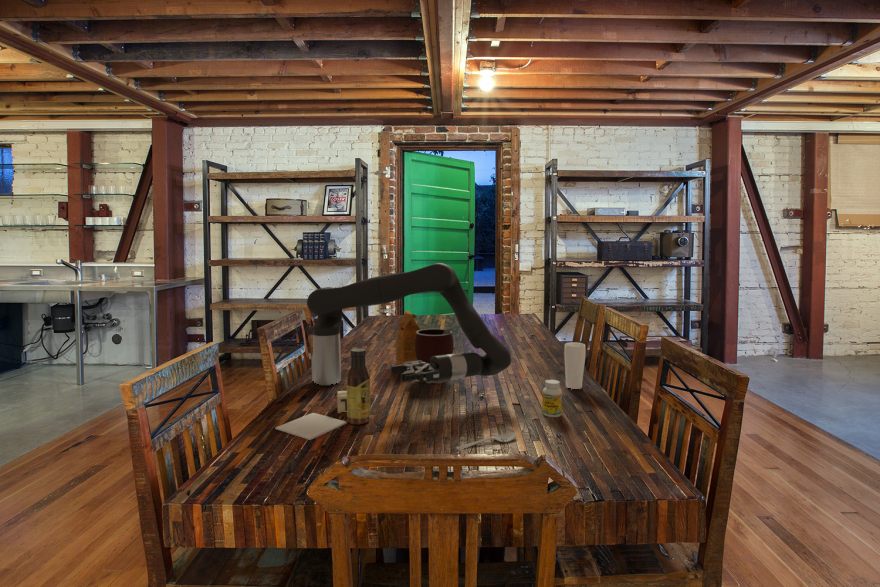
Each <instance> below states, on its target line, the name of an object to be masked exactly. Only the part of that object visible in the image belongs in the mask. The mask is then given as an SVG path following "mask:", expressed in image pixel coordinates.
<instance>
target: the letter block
mask: <svg viewBox="0 0 880 587" xmlns="http://www.w3.org/2000/svg"><path fill="white" fill-rule="evenodd" d="M336 398H337V399H336V400H337V414H342V413H341V412H347V390H339V391H337V397H336Z"/></svg>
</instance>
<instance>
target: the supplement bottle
mask: <svg viewBox="0 0 880 587" xmlns="http://www.w3.org/2000/svg"><path fill="white" fill-rule="evenodd" d="M544 381H545V382H544V386H545V387H544V388H542V400H541V401H542V402H541V403H542V406H541V407H542V410H541V414H543V415H544V416H545V417H549V418H559V417H561V416H562V412H563V411H562V407H563V398H562V397H563V392H562V391H563V390H562V389H561V388H560V386H561V384H560V381H559V380H556V379H546V380H544Z"/></svg>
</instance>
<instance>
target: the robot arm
mask: <svg viewBox="0 0 880 587" xmlns="http://www.w3.org/2000/svg"><path fill="white" fill-rule="evenodd" d="M432 292H435V293H439V294H440V295H441V297H443V298H444V299H445V302H447V303H448V304H449V307H450V308H451V309H452V311H453V313H454V316H455V318H456V320H457V323H458V324H459V326H460V328H461V330H462V331H463V333H464V335H465V336H466V338H467V339H468V341H469V343H470V344H471V345H472V347H473V348H475V349H481V350H482V351H483V352H484V353H485V354H479V353H476V352H466V353H465V352H464V353H453V354H447V355H438V356H433V357H431V359H430V361H429V363H426V362H422V361H421V360H419V361H410V362H403V365H397V364H396V365H391V366H390V373H391V374H392V375H397V374H400V381H401V382H402V383H405V382H412V381H414V382H419V383H420V384H421V383H423V382H428V381H435V382H440V381H447V380H450V381H452V380H459V379H462V378H469V377H476V376H479V377H480V376H482V377H483V376H484V377H489V376H494V375H498V374H500V373H502V372H503V371H504V370H506V369H507V368H509V366H510V365H511V363H512V357H511V353H510V351H509V350H508V348H507V346H505V345H504V344H503V343H502V342H501V341H500V340H499V339H498V338H497V337H496V336H495V335H494V334H492V333H491V330H489V328H488V326H487V325H486V323H485V321H484V320H483V319H482V318H481V316H480V314H479V313H478V311H477V310H476V309H475V308H474V306H473V305H472V303H471V301H470V300H469V298H468V296H467V294H466V292H465V291H464V289H463V287H462V284H461V282H460V280H459V277H458V275H457V273H456V271H455V270H454V268H453V267H451V266H450V265H448V264H446V263H442V262H437V263H433V264H430V265H427V266H423V267H420V268H417V269H414V270H410V271H405V272H398V273H397V272H396V273H390V274H384V275H378V276H373V277H370V278H366V279H362V280H358V281H356V282H353V283H351V284H347V285H345V286H338V287H331V286H328V287H327V286H326V287H321V288H317V289H315V290H313V291H312V292H311V293H310V294H309V295H308V296H307V300H306V306H307V308H308V310H309V311H310V312H311V313H312V314H314V315H317V319H316V321H315V323H314V324H313V326H312V348H313V349H312V350H313V352H312V355H311V382H312V381H314V382H313V383H314V384H315V383H316V384H315V385H317V384H319V385H318V386H332V385H331V384H333V385H337V384H340V383H341V382H342V365H341V326H342V324H343V310H345V309H350V308H363V307H370V306H371V307H372V306H377V305H378V306H379V305H382V304H384V305H385V304H389V303H393V302H396V301H398V300H401V299H403V298H406V297H407V296H411V295H414V294H421V293H432ZM407 366H410V368H407ZM340 381H341V382H340ZM336 383H337V384H336Z"/></svg>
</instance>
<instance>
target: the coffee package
mask: <svg viewBox="0 0 880 587" xmlns="http://www.w3.org/2000/svg"><path fill="white" fill-rule="evenodd" d="M416 318H417V316H416V314H414V313H411V312H410V311H409V310H405V311H404V314H403V317H402V319H401V322H400V323H399V327H398V332H397V338H396V345H395V346H396V347H395V348H396V350H395V354H396V355H395V360H396V366H397V365H403V362H410V361H418V360H417V358H416V353H415V337H416V332H417V331H419V330H421V327H420V326H419V325H418V324H417V322H416V320H415V319H416ZM407 368H410V366H407Z"/></svg>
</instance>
